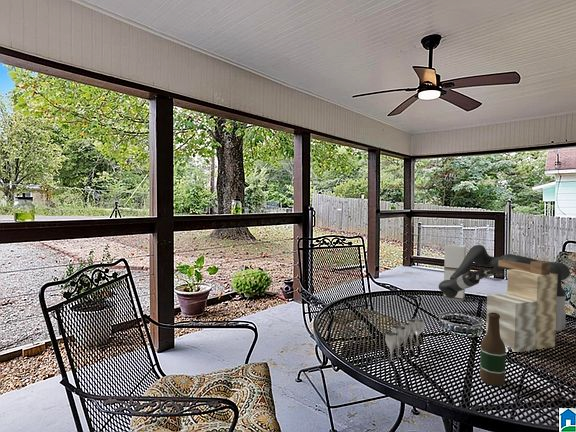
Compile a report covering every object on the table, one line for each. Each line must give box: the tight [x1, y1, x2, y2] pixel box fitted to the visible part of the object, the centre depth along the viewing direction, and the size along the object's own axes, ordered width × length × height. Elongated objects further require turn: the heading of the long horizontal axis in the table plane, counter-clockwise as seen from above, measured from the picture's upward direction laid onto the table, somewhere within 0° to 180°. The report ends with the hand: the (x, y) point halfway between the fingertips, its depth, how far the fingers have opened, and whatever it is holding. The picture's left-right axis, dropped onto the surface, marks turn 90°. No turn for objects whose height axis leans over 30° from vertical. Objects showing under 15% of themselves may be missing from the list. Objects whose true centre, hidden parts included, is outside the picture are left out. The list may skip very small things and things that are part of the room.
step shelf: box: [485, 269, 558, 353], centre depth 158 cm, size 24×14×32 cm, turn 109°
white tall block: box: [442, 244, 467, 303], centre depth 234 cm, size 11×11×35 cm
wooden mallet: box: [498, 260, 550, 275], centre depth 164 cm, size 5×22×5 cm, turn 19°
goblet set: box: [384, 317, 426, 362], centre depth 145 cm, size 28×6×13 cm, turn 136°
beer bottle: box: [479, 312, 507, 387], centre depth 124 cm, size 8×8×24 cm
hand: (490, 269), depth 180 cm, fingers open, 8 cm apart
